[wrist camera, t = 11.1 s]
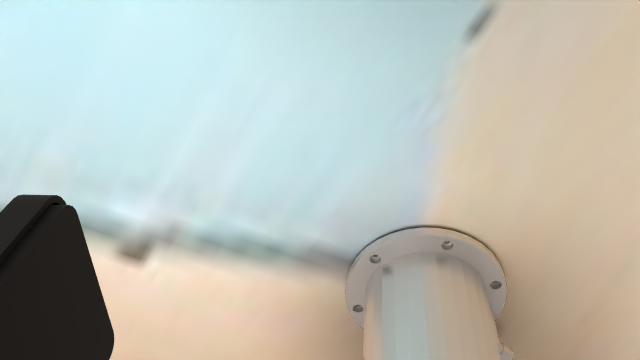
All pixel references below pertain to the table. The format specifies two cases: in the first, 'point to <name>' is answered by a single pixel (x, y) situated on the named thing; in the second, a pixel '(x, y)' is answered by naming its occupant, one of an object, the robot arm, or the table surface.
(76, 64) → the table surface
